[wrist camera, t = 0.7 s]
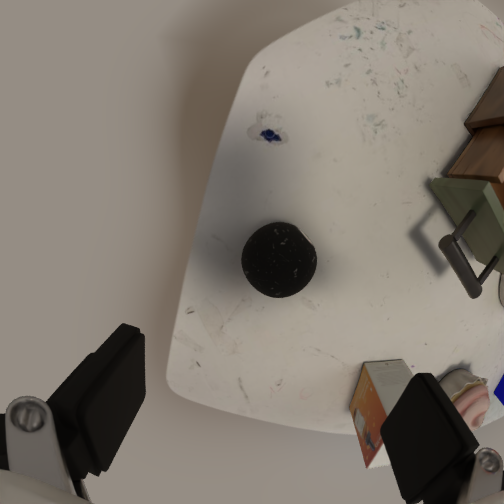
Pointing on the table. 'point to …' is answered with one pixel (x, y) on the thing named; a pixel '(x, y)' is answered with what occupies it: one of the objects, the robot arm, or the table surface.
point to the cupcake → (467, 396)
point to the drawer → (475, 207)
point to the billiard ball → (279, 260)
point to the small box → (377, 406)
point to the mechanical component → (502, 290)
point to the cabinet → (489, 106)
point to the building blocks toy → (500, 390)
